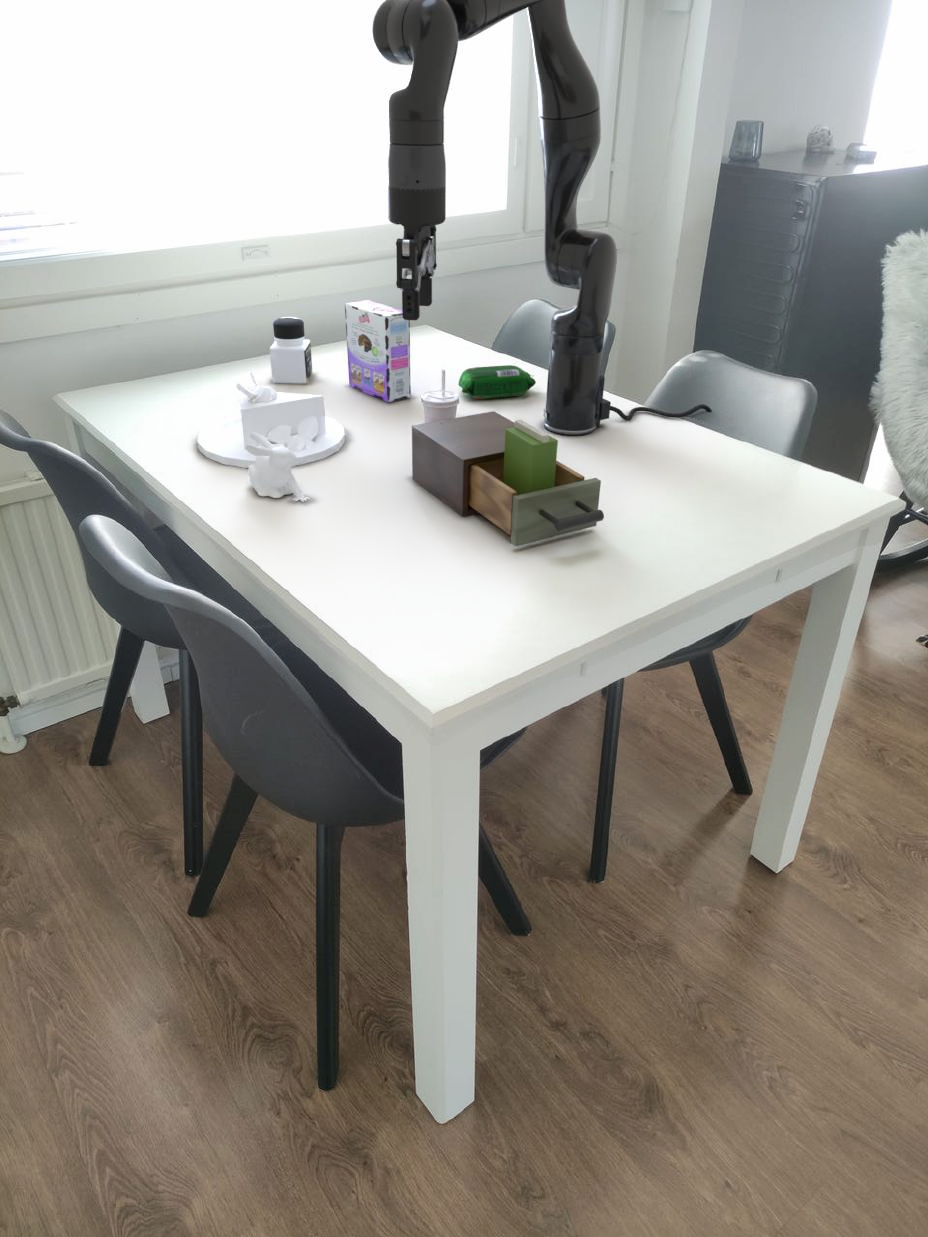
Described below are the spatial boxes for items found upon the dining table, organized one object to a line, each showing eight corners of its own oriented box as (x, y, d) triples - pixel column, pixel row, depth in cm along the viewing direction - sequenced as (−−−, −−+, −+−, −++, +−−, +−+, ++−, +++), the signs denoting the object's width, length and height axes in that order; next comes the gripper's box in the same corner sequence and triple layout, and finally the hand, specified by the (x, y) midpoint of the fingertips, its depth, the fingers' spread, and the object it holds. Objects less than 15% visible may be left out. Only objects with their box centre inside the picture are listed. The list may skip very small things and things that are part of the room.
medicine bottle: (307, 384, 185) (303, 323, 178) (272, 383, 185) (266, 322, 178) (312, 373, 191) (308, 314, 185) (278, 373, 191) (273, 314, 185)
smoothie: (454, 460, 151) (455, 376, 144) (416, 457, 152) (415, 373, 145) (462, 447, 156) (463, 365, 149) (425, 443, 157) (425, 362, 150)
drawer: (620, 541, 125) (625, 494, 121) (537, 563, 119) (540, 515, 115) (538, 489, 139) (541, 446, 136) (461, 506, 133) (462, 462, 130)
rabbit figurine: (311, 501, 136) (306, 439, 131) (264, 513, 133) (257, 449, 127) (275, 475, 145) (270, 415, 139) (230, 485, 141) (223, 425, 136)
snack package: (539, 398, 180) (541, 371, 177) (463, 402, 176) (463, 375, 174) (528, 387, 186) (530, 361, 183) (454, 391, 182) (454, 365, 180)
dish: (196, 472, 145) (186, 403, 139) (201, 420, 166) (192, 357, 160) (351, 463, 149) (348, 395, 143) (337, 413, 170) (334, 352, 164)
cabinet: (546, 497, 139) (550, 442, 134) (462, 516, 133) (463, 459, 128) (492, 462, 151) (493, 410, 146) (412, 479, 144) (411, 425, 140)
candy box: (412, 397, 179) (411, 311, 170) (387, 403, 175) (385, 315, 167) (371, 380, 187) (368, 297, 179) (347, 386, 184) (343, 301, 176)
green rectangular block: (502, 501, 132) (505, 421, 126) (525, 496, 134) (529, 417, 128) (528, 520, 127) (533, 437, 121) (552, 514, 129) (558, 433, 123)
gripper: (434, 190, 111) (434, 326, 119) (454, 177, 123) (453, 302, 131) (374, 188, 112) (378, 323, 120) (400, 175, 124) (402, 299, 132)
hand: (417, 312), depth 126 cm, fingers open, 8 cm apart
